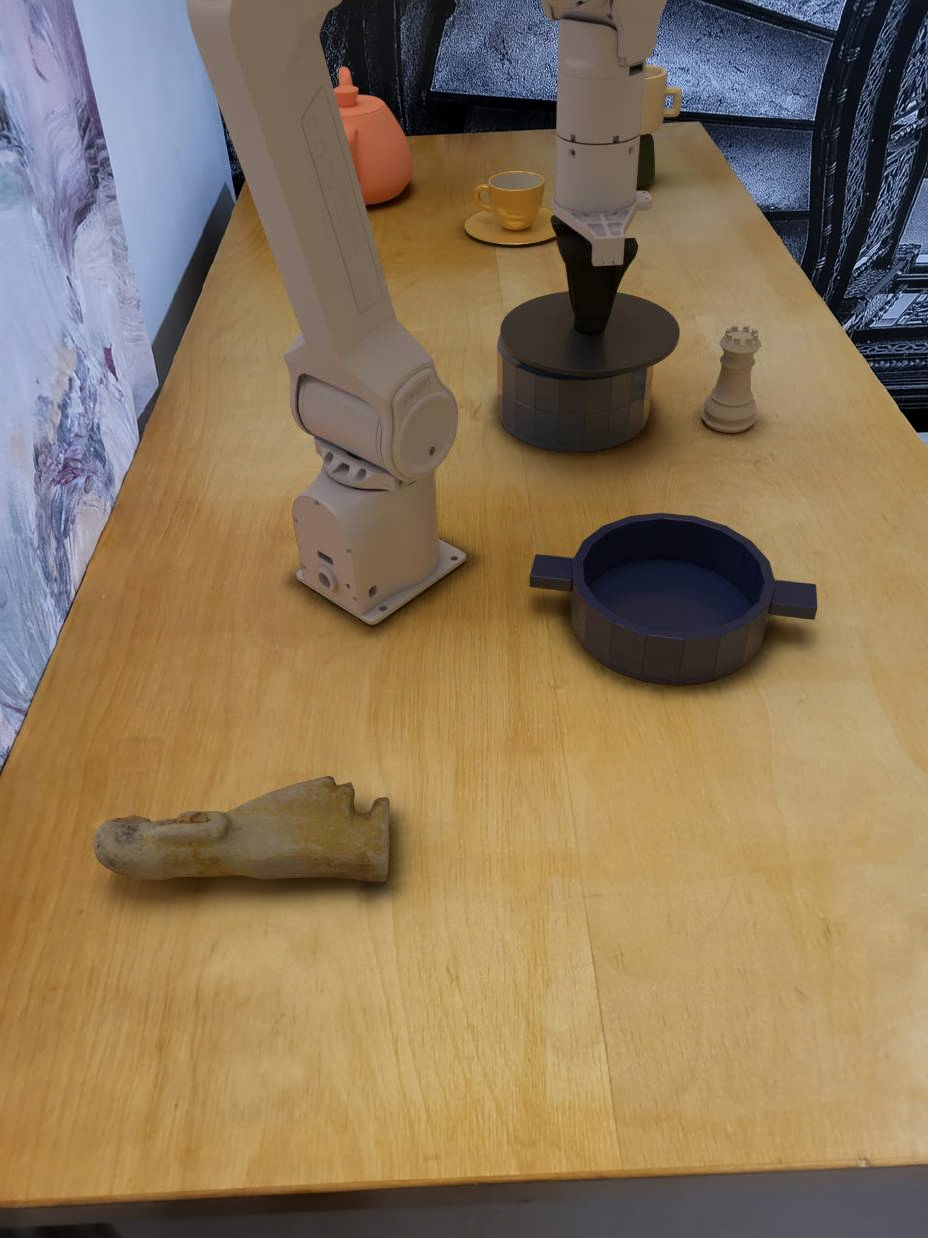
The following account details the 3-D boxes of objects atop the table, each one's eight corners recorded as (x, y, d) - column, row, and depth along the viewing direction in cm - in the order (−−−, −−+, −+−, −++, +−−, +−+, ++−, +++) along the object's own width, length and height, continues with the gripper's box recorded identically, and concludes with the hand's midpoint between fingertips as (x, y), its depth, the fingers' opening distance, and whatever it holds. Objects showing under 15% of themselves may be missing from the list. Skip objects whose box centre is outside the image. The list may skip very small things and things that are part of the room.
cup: (574, 211, 121) (576, 165, 118) (556, 250, 113) (558, 201, 109) (478, 206, 124) (476, 160, 120) (453, 244, 115) (451, 195, 112)
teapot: (300, 166, 137) (286, 66, 129) (410, 159, 138) (403, 59, 130) (294, 225, 121) (278, 115, 113) (419, 217, 122) (412, 107, 113)
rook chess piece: (716, 402, 87) (730, 314, 82) (764, 417, 85) (781, 328, 79) (690, 423, 84) (702, 335, 79) (739, 440, 82) (754, 350, 77)
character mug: (672, 174, 130) (683, 62, 121) (673, 194, 125) (685, 78, 116) (587, 174, 131) (592, 63, 122) (585, 193, 126) (590, 78, 117)
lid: (671, 391, 72) (678, 331, 69) (484, 376, 75) (482, 318, 72) (683, 307, 82) (690, 252, 79) (517, 297, 85) (517, 243, 82)
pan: (810, 703, 60) (823, 656, 58) (515, 665, 64) (515, 619, 61) (804, 572, 69) (815, 527, 67) (546, 545, 73) (547, 500, 70)
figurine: (389, 763, 55) (104, 762, 53) (395, 810, 50) (79, 810, 48) (385, 848, 56) (107, 850, 54) (390, 902, 51) (84, 906, 49)
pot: (586, 470, 80) (591, 397, 76) (467, 417, 86) (465, 347, 82) (677, 406, 87) (685, 335, 82) (560, 361, 93) (562, 294, 89)
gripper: (677, 163, 63) (657, 362, 72) (638, 98, 74) (625, 278, 83) (565, 169, 63) (559, 367, 72) (542, 103, 74) (540, 282, 83)
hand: (588, 320), depth 77 cm, fingers closed on lid, 2 cm apart
